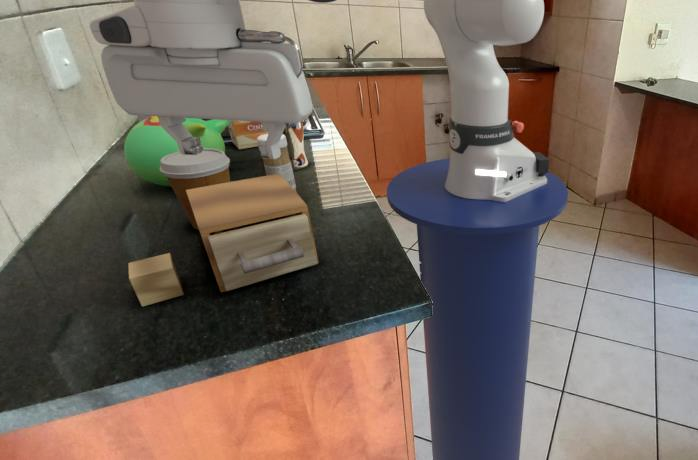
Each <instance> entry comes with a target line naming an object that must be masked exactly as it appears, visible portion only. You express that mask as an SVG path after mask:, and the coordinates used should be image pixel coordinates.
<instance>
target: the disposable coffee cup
mask: <svg viewBox="0 0 698 460" xmlns="http://www.w3.org/2000/svg"><path fill="white" fill-rule="evenodd" d="M230 163H231V159H230V157H228V156H227V155H226V152H225V153H224V152H223V151H222V150H219V149H211V148H203V151H202V152H201V153H199V154H197V155H183V154H181V152H180V151H179V152H175V153H172V154H169V155H166V156H164V157H163V158H162V159H161V166H160V168H159V169H160V171H161V172H162V173H163V174H164V175H165V176H166V177H167V179H168V181H169V182H170V184H171V186H170V188H172V191H173V192H174V194H175V196H176V198H177V200H178V201H179V204H180V205H181V207H182V209H183V211H184V212H185V215H186V216H187V218H188V220H189V222H190V224H191V226H192V227H193V229H195V230H198V231H199V228H198V225H197V222H196V219H195V216H194V213H193V210H192V207H191V204H190V201H189V198H188V195H187V193H186V190H187V189H193V188H199V187H205V186H210V185H216V184H222V183H227V182H231V176H230V169H229V167H230Z"/></svg>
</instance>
